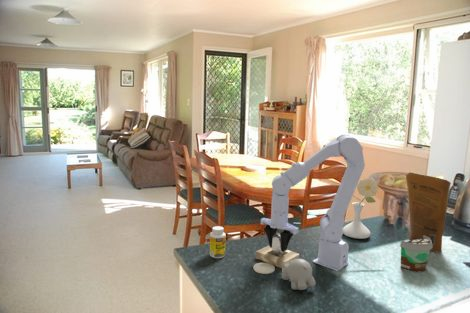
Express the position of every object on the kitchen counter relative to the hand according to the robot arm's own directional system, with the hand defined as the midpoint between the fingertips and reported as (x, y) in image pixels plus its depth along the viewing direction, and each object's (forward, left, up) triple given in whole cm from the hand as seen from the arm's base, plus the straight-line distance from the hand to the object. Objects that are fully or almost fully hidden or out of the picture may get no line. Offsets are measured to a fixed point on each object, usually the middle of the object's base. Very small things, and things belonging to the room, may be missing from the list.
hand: (278, 248), depth 127 cm
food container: (-38, -27, -4) cm, 47 cm away
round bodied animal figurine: (-14, +11, -4) cm, 18 cm away
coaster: (-1, +9, -4) cm, 10 cm away
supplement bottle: (+17, +13, -4) cm, 22 cm away
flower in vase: (-11, -41, -4) cm, 43 cm away
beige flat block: (0, 0, -4) cm, 4 cm away
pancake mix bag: (-33, -51, -4) cm, 61 cm away
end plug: (0, 0, -3) cm, 3 cm away
